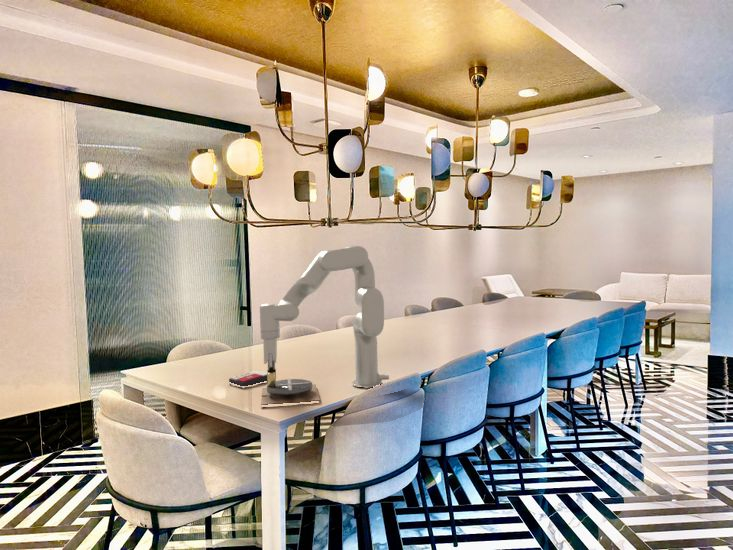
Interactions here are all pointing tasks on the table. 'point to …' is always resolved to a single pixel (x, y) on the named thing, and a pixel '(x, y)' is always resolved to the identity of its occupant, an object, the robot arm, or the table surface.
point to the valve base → (289, 397)
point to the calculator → (249, 378)
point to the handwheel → (287, 385)
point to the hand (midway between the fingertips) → (271, 379)
